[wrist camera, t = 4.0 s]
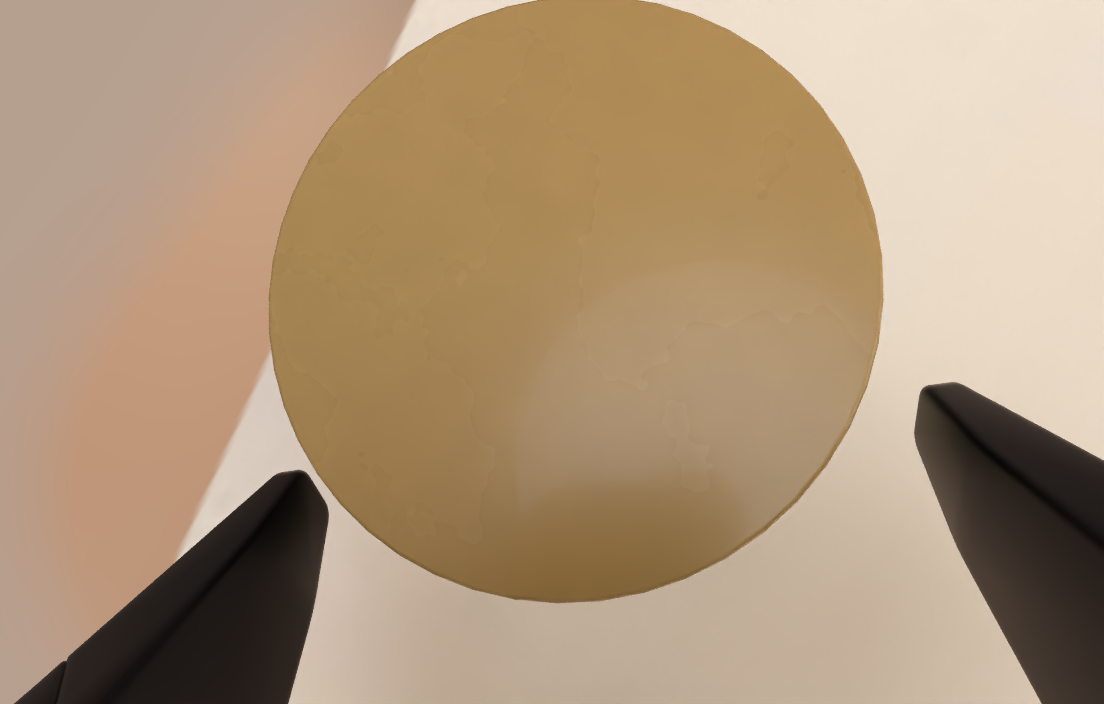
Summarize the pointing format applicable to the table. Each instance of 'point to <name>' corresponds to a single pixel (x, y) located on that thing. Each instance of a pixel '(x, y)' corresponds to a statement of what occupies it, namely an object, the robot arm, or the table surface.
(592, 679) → the table surface
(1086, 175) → the table surface
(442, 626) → the table surface
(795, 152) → the tea tin
